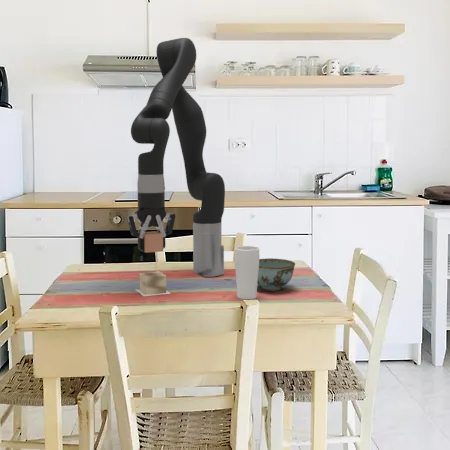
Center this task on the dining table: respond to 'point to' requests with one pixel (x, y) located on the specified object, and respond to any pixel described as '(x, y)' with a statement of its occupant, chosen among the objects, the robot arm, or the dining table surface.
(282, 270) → the bowl
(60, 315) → the dining table surface
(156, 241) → the rust block
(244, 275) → the drinking glass
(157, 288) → the beech block
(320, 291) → the dining table surface
